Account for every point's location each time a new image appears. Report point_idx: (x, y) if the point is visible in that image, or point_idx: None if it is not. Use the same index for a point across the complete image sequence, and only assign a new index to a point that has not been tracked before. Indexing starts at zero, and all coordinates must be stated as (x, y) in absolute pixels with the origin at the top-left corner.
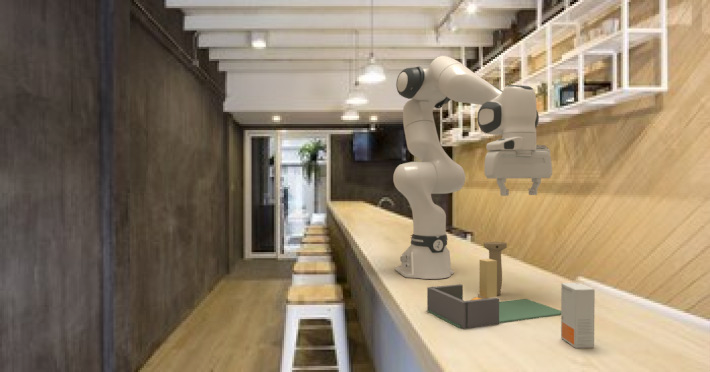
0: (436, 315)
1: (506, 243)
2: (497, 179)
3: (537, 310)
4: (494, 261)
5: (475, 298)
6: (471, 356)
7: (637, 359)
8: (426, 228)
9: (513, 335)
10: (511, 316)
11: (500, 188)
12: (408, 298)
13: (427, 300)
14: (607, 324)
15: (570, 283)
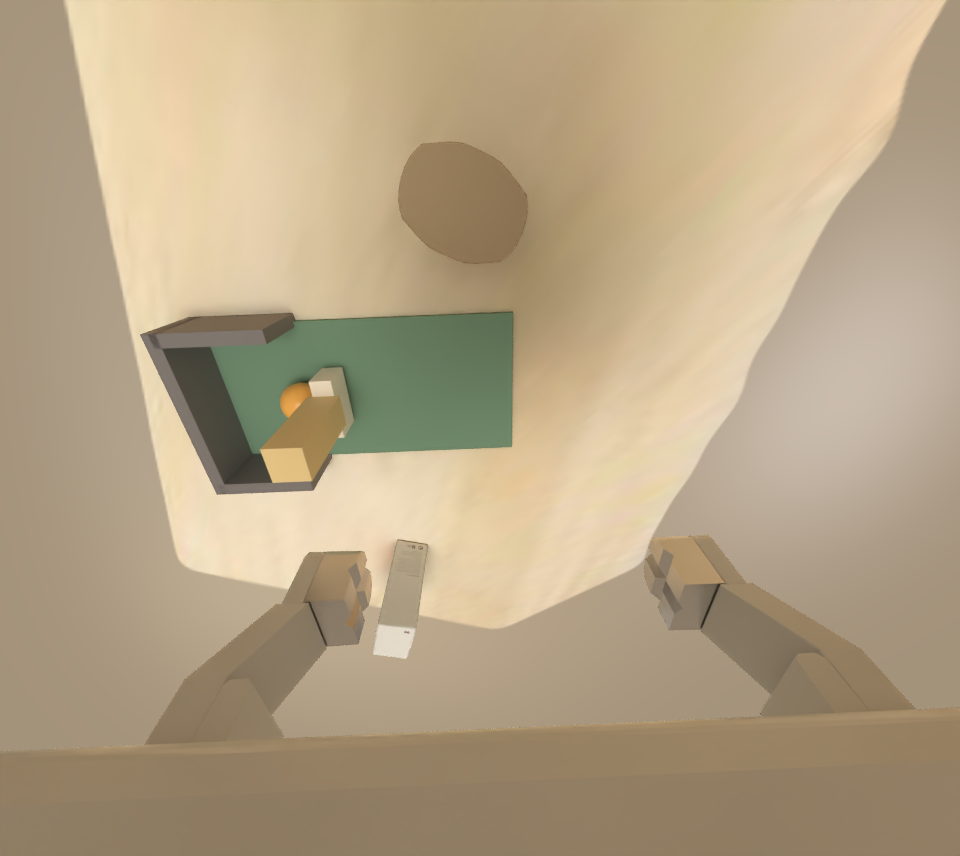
0: None
1: (510, 251)
2: (159, 743)
3: (462, 416)
4: (303, 479)
5: (288, 412)
6: (226, 555)
7: (442, 606)
8: None
9: (329, 509)
10: (377, 434)
11: (275, 617)
12: (136, 143)
13: (169, 324)
14: (530, 510)
15: (393, 630)
